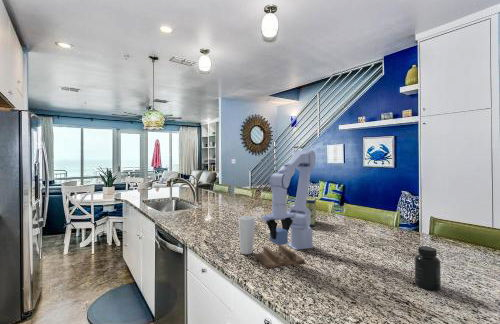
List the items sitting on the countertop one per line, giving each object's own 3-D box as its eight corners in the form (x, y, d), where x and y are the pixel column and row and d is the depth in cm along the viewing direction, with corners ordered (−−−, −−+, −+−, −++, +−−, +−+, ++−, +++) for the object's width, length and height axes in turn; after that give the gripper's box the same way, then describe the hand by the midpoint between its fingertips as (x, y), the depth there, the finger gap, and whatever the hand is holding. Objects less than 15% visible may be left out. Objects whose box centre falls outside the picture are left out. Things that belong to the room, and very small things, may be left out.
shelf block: (287, 243, 105) (287, 230, 105) (277, 245, 103) (277, 232, 103) (279, 239, 110) (279, 227, 110) (269, 240, 108) (270, 228, 108)
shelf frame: (289, 251, 115) (289, 243, 114) (304, 262, 103) (304, 253, 103) (254, 256, 109) (254, 247, 109) (266, 267, 98) (266, 258, 98)
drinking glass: (240, 256, 109) (240, 219, 109) (236, 250, 116) (237, 216, 115) (256, 254, 111) (256, 218, 111) (252, 249, 117) (252, 215, 117)
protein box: (296, 225, 158) (296, 199, 158) (299, 220, 173) (299, 196, 173) (314, 227, 155) (314, 200, 155) (315, 221, 170) (316, 196, 170)
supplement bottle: (430, 280, 88) (430, 244, 88) (445, 291, 81) (446, 252, 81) (409, 281, 88) (410, 244, 88) (423, 291, 81) (424, 252, 81)
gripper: (289, 200, 113) (288, 233, 113) (258, 203, 106) (258, 237, 107) (299, 203, 106) (298, 237, 106) (267, 206, 100) (266, 242, 100)
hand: (279, 237), depth 106 cm, fingers closed on shelf block, 4 cm apart
